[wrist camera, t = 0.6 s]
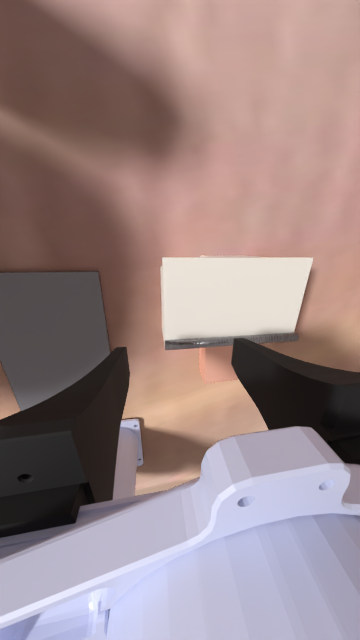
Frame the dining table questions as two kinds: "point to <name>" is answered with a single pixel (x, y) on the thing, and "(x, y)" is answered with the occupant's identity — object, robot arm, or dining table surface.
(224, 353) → the tall pink rectangular block
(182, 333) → the panel
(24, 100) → the dining table surface
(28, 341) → the mat
